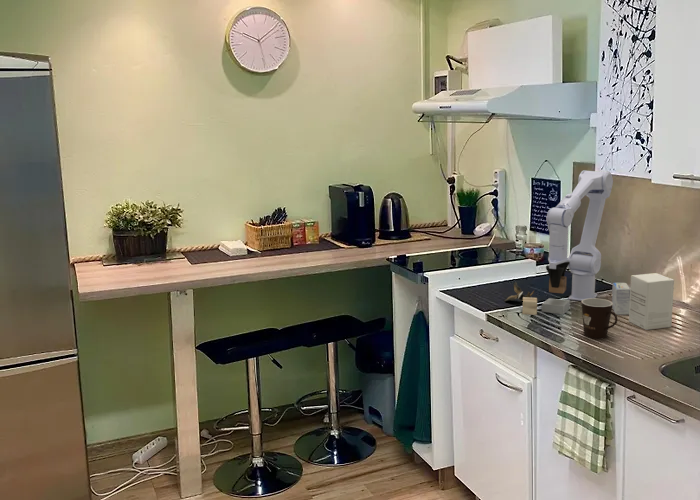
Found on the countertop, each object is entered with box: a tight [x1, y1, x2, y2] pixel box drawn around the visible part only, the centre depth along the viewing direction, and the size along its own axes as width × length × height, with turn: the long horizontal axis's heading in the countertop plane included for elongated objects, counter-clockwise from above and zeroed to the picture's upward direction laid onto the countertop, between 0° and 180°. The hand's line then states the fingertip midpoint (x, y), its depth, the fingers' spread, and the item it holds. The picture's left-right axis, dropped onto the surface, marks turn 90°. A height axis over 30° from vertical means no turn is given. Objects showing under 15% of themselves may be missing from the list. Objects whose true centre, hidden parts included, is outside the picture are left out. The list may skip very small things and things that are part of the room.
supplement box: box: [628, 272, 675, 331], centre depth 213 cm, size 9×9×15 cm
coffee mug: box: [580, 297, 618, 340], centre depth 204 cm, size 12×9×10 cm
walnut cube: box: [548, 275, 568, 294], centre depth 229 cm, size 4×4×4 cm
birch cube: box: [522, 297, 538, 316], centre depth 229 cm, size 4×4×4 cm
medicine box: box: [611, 282, 630, 316], centre depth 227 cm, size 8×4×9 cm, turn 168°
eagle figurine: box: [504, 282, 535, 302], centre depth 240 cm, size 8×7×9 cm
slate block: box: [541, 297, 571, 315], centre depth 231 cm, size 7×7×3 cm
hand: (557, 285), depth 229 cm, fingers closed on walnut cube, 4 cm apart
